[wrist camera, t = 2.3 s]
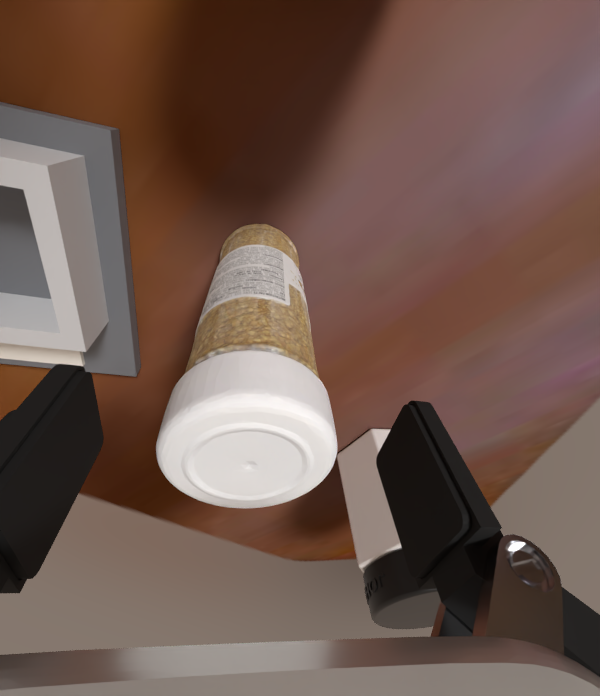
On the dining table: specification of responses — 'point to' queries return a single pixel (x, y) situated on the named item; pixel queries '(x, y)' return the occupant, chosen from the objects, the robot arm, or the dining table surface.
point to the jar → (381, 541)
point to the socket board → (64, 245)
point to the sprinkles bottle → (250, 385)
